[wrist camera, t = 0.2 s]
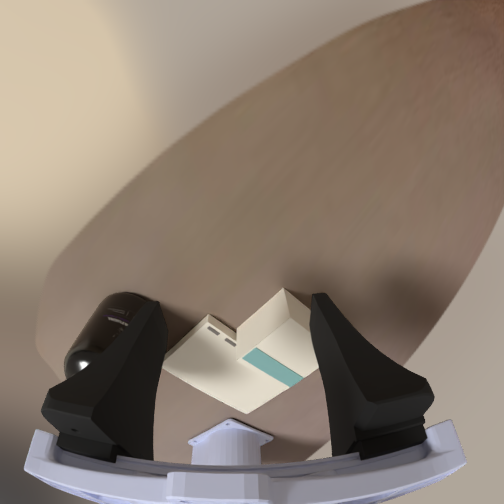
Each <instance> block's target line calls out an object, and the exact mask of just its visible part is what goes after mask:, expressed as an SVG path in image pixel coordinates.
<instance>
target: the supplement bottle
mask: <svg viewBox="0 0 504 504" xmlns="http://www.w3.org/2000/svg"><path fill="white" fill-rule="evenodd" d="M146 302H147V301H146V300H144V299H143V298H141V297H139V296H137V295H134V294H130V293H115V294H112V295H109V296H108V297H106V298H105V299H104V300H103V301H102V302H101V303H100V305H99V306H98V308H97V309H96V310H95V312H94V313H93V315H92V316H91V318H90V319H89V321H88V322H87V324H86V325H85V327H84V328H83V330H82V331H81V333H80V334H79V336H78V337H77V339H76V340H75V342H74V343H73V345H72V347H71V348H70V350H69V351H68V353H67V355H66V357H65V360H64V372H65V376H66V379H68V378H70V377H72V376H73V375H75V374H76V373H78V372H79V371H81V370H82V369H83V368H85V367H86V366H87V365H88V364H90V363H91V362H92V361H93V360H95V359H96V358H97V357H98V356H99V355H100V354H101V353H102V352H103V351H105V350H106V349H107V348H108V347H109V346H110V345H111V344H112V342H113V341H114V340H115V339H116V338H117V337H118V336H119V335H120V334H121V332H122V331H123V330H124V329H125V328H126V326H127V325H128V324H129V323H130V322H131V320H132V319H133V318H134V317H135V315H136V314H137V313H138V312H139V310H140V309H141V308H142V307H143V306H144V304H145V303H146Z"/></svg>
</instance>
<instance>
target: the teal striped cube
mask: <svg viewBox="0 0 504 504" xmlns="http://www.w3.org/2000/svg"><path fill="white" fill-rule="evenodd" d="M310 313H311V310H310V309H309V308H307V307H306V306H305V305H304V304H302V303H301V302H300V301H299V300H298V299H296V298H295V297H294V296H293V295H292V294H290V293H289V292H288V291H287V290H286V289H284V288H282V289H281V290H280V291H279V292H278V293H277V294H276V295H275V296H274V297H272V298H271V299H270V300H269V301H268V302H267V303H266V304H265V305H263V306H262V307H261V308H260V309H259V310H258V311H257V312H255V313H254V314H253V315H252V316H251V317H250V318H248V319H247V320H246V321H245V322H244V323H243V324H242V325H240V326H239V327H238V328H237V344H236V361H237V362H239V363H240V364H242V365H244V366H245V367H247V368H249V369H250V370H252V371H254V372H255V373H257V374H259V375H260V376H262V377H264V378H265V379H267V380H269V381H271V382H272V383H274V384H276V385H278V386H279V387H281V388H283V389H285V390H287V389H288V388H290V387H291V386H293V385H294V384H296V383H297V382H299V381H300V380H302V379H303V378H305V377H306V376H308V375H309V374H310V373H312V372H313V371H315V370H316V369H317V368H319V366H318V362H317V359H316V355H315V352H314V348H313V345H312V339H311V333H310V327H309V322H310Z"/></svg>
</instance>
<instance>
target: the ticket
mask: <svg viewBox="0 0 504 504" xmlns="http://www.w3.org/2000/svg"><path fill="white" fill-rule="evenodd" d="M236 344H237V333H235V332H234V331H232V330H231V329H230V328H228V327H227V326H225V325H224V324H222V323H221V322H220V321H218V320H217V319H215V318H214V317H212V316H211V315H210V314H208V315H207V316H206V317H205V318H204V319H203V320H202V321H201V322H199V323H198V324H197V325H196V326H195V327H194V328H193V329H192V330H191V331H190V332H189V333H188V334H187V335H186V336H184V337H183V338H182V339H181V340H180V341H179V342H178V343H177V344H176V345H175V346H174V347H173V348H171V349H170V350H169V351H168V352H167V353H166V354H165V357H164V361H163V365H162V368H163V369H165V370H166V371H168V372H170V373H171V374H173V375H175V376H176V377H178V378H180V379H181V380H183V381H185V382H187V383H188V384H190V385H192V386H194V387H195V388H197V389H199V390H201V391H203V392H204V393H206V394H208V395H210V396H212V397H214V398H216V399H217V400H219V401H221V402H223V403H225V404H227V405H229V406H231V407H233V408H235V409H237V410H239V411H241V412H243V413H245V414H248V413H249V412H251V411H253V410H254V409H256V408H258V407H259V406H261V405H263V404H264V403H266V402H267V401H269V400H271V399H272V398H274V397H275V396H277V395H278V394H280V393H282V392H283V391H285V389H283V388H281V387H279V386H278V385H276V384H274V383H272V382H271V381H269V380H267V379H265V378H264V377H262V376H260V375H259V374H257V373H255V372H254V371H252V370H250V369H249V368H247V367H245V366H244V365H242V364H240V363H239V362H237V361H236Z"/></svg>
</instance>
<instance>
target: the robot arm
mask: <svg viewBox="0 0 504 504" xmlns="http://www.w3.org/2000/svg"><path fill="white" fill-rule="evenodd" d="M309 327H310V333H311V339H312V345H313V348H314V352H315V355H316V359H317V362H318V366H319V369H320V373H321V377H322V380H323V384H324V389H325V395H326V401H327V409H328V416H329V425H330V434H331V445H332V457H329V458H323V459H316V460H308V461H300V462H291V463H280V464H265V465H261V451H260V446H262V445H264V444H266V443H268V442H270V441H272V440H273V436H271V435H268V434H266V433H263V432H261V431H259V430H256V429H254V428H252V427H249V426H247V425H245V424H242V423H240V422H238V421H236V420H234V419H227V420H225V421H224V422H222V423H220V424H218V425H217V426H215V427H213V428H211V429H209V430H208V431H206V432H204V433H202V434H200V435H198V436H196V437H194V438H193V439H191V440H189V441H188V444H190V445H192V446H193V452H192V462H191V464H179V463H168V462H159V461H154V458H153V425H154V410H155V399H156V392H157V386H158V382H159V378H160V374H161V369H162V365H163V361H164V357H165V353H166V347H167V338H168V329H167V326H166V323H165V320H164V317H163V314H162V311H161V308H160V305H159V302H158V301H156V302H146V303H145V304H144V306H143V307H142V308H141V309H140V310H139V312H138V313H137V314H136V315H135V317H134V318H133V319H132V320H131V322H130V323H129V324H128V325H127V326H126V328H125V329H124V330H123V331H122V332H121V334H120V335H119V336H118V337H117V338H116V339H115V340H114V341H113V342H112V344H111V345H110V346H109V347H108V348H107V349H106V350H105V351H103V352H102V353H101V354H100V355H99V356H98V357H97V358H96V359H95V360H93V361H92V362H91V363H90V364H88V365H87V366H86V367H85V368H83V369H82V370H81V371H79V372H78V373H76V374H75V375H73V376H72V377H70V378H68V379H67V380H65V381H63V382H62V383H60V384H58V385H56V386H54V387H52V388H50V389H49V391H48V393H47V396H46V398H45V401H44V403H43V406H42V409H41V412H42V415H43V416H44V417H45V419H47V421H48V422H50V423H51V424H52V425H53V426H54V427H55V428H56V429H57V430H58V431H59V432H60V433H59V437H58V436H56V435H54V434H51V433H48V432H45V431H42V430H39V429H36V431H35V433H34V436H33V439H32V443H31V446H30V449H29V452H28V456H27V459H26V463H25V467H24V470H25V471H27V472H28V473H30V474H32V475H33V476H35V477H37V478H38V479H40V480H42V481H43V482H45V483H47V484H49V485H51V486H52V487H55V488H57V489H60V490H62V491H65V492H68V493H71V494H74V495H76V496H79V497H82V498H85V499H88V500H91V501H94V502H97V503H100V504H378V503H381V502H384V501H388V500H391V499H394V498H396V497H399V496H402V495H405V494H407V493H410V492H413V491H416V490H418V489H421V488H423V487H426V486H428V485H431V484H433V483H436V482H438V481H440V480H442V479H444V478H445V477H447V476H449V475H450V474H452V473H453V472H455V471H456V470H458V469H459V468H461V467H462V466H464V465H465V464H466V463H467V461H466V457H465V455H464V452H463V449H462V446H461V443H460V441H459V438H458V435H457V433H456V430H455V427H454V425H453V422H452V420H451V419H449V420H446V421H444V422H441V423H438V424H435V425H433V426H431V427H428V428H427V429H424V426H423V424H424V423H425V419H424V416H423V415H424V413H425V412H426V411H427V410H428V408H429V407H430V406H431V404H432V403H433V401H434V394H433V392H432V389H431V387H430V385H429V383H428V382H427V380H426V378H424V377H422V376H420V375H417V374H415V373H413V372H411V371H409V370H407V369H406V368H404V367H402V366H401V365H399V364H397V363H396V362H394V361H393V360H391V359H390V358H389V357H387V356H386V355H384V354H383V353H381V352H380V351H379V350H378V349H376V348H375V347H374V346H373V345H372V344H371V343H369V342H368V341H367V340H366V339H365V338H364V337H363V336H362V335H361V334H360V333H359V332H358V331H357V330H356V329H355V328H354V327H353V326H352V325H351V323H350V322H349V321H348V320H347V319H346V318H345V317H344V315H343V314H342V313H341V312H340V311H339V309H338V308H337V307H336V306H335V304H334V303H333V302H332V300H331V299H330V298H329V296H328V295H327V294H326V293H317V294H312V304H311V313H310V322H309Z"/></svg>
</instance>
